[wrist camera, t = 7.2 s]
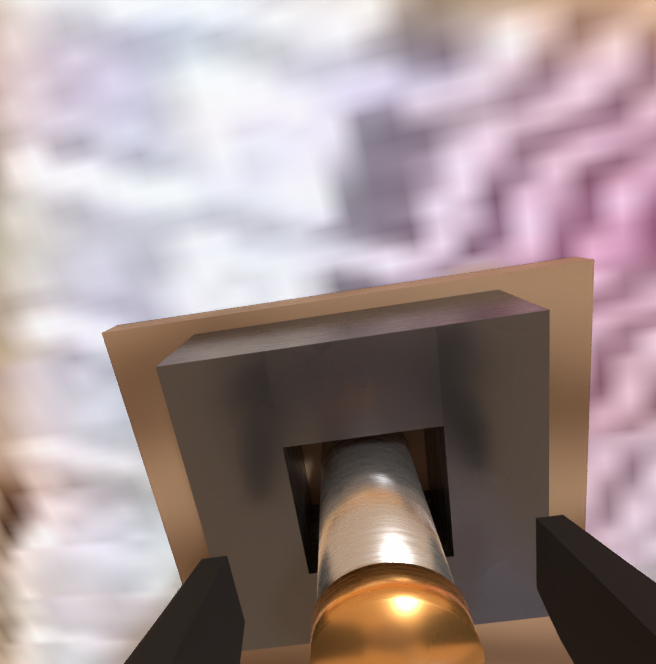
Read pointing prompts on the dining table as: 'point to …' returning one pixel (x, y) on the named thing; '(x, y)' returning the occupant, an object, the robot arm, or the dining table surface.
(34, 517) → the dining table surface
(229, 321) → the walnut board
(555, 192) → the dining table surface
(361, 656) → the metal peg
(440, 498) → the socket block
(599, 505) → the dining table surface
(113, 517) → the dining table surface
